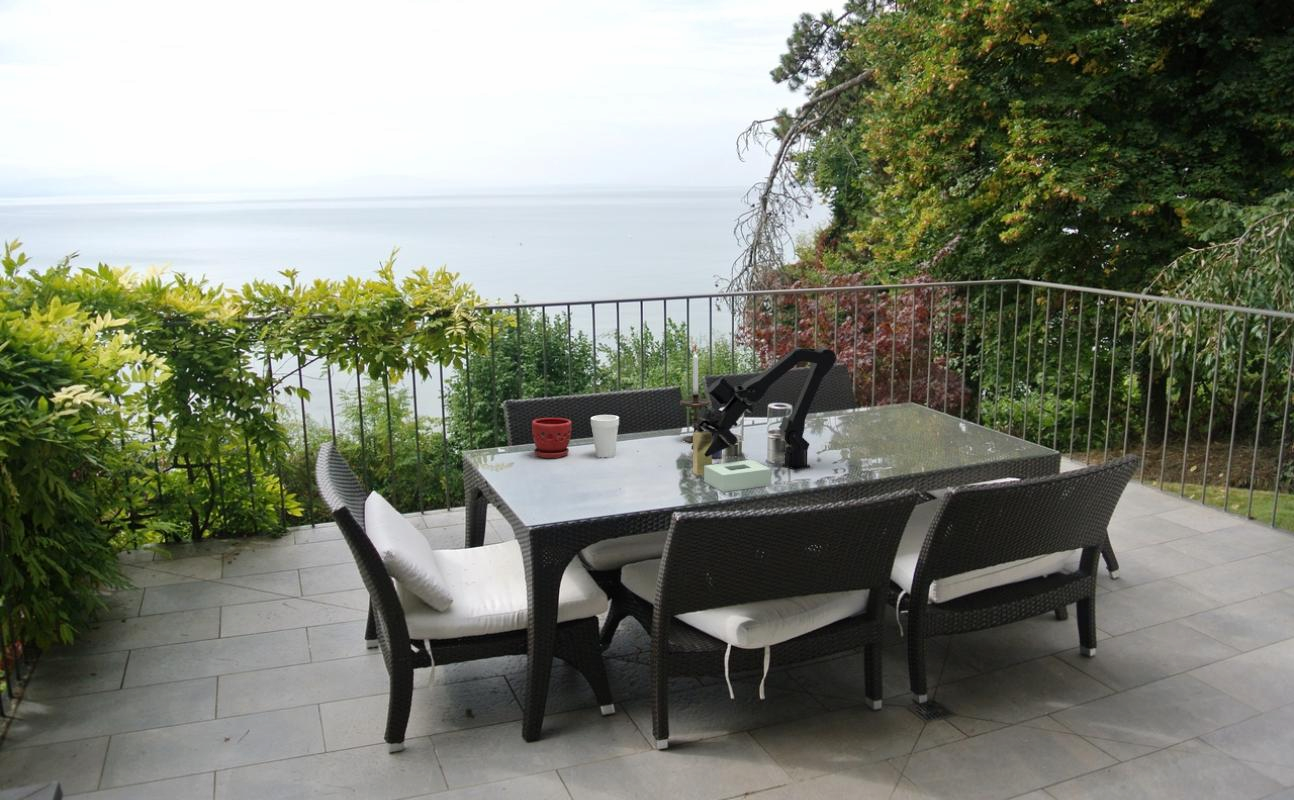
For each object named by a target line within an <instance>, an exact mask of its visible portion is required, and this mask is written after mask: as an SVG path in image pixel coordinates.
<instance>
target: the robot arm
mask: <svg viewBox="0 0 1294 800" xmlns="http://www.w3.org/2000/svg"><path fill="white" fill-rule="evenodd" d="M800 362H806V363H810V364H809V373H808V376H807V378H806V380H805V383H804V385H803V387H802V390H801V392H800V394H799V396H798V398H797V401H796V403H795V406H794V408H793V411H792V412H791V414H790V415H789V416H788V417H786V416H785V415H784V416H783V417H782V421H781V423H780V425H779V426H778V429H779V432H778V433H779V437H780V438H781V439H782V440H783V441H784V442H785V445H786V446H787V447H786V446H785V452H784V463H783V462H782V466H784V467H785V468H786V467H787V468H789V469H792V470H800V469H805V468H810V467H811V464H808V449H809V448H810V443H809V441H807V440H806V439H805V438H804V433H805V426H806V418H807V416H808V414H809V411H810V409H811V406H812V404H813V402H814V399H815V397H816V396H817V392H818V391H819V388H820V386H821V383H822V382H823V379H824V378H825V376H827V375H828V374H829V372H830V371H831V370H832V368H833V367H834V365H835V364H836V362H837V355H836V352H834V350H832V349H830V348H828V347H824V346H819V347H817V348H805V347H804V348H803V347H797V346H796V347H793V348H792V349H791V350H790V351H789V352H787V354H785V355H784V356H783V357H781V358H780V359H779V360H777V362H775V363H774V364H773V365H772V366H770V367H769V368H768V369H767V370H765V371H764V372H763V373H761V374H759V375H757V376H754V377H752V378H750V379H748V380H747V381H745V382H743V383H742V385H736V386H732V385H730V383H729V382H728V381H727V380H726V379H725V378H724V376H721V377H720V378H719V379H717V380H716V381H715V382H712V384H711V385H710V386H709V387H708V388H707V391H706V393H707V394H708V395H709V396H710V397H711V398H712V399H714V401H716V403H718V404H719V405H725V406H724V407H723V408H722V409H716V408H712V409H711V410H710V409H708V408H706V407H705V406H703V407H700V410H699V413H698V420H697V421H696V422H695V424H696V428H697V432H703V431H709V432H711V433H712V436H713V435H714V440H713V442H712V443H711V445H710V446H709V448H708V449H707V451H706V452H705V454H704V455H705V456H706V457H708V456H710V455H712V454H714V453H716V452H718V451H721V450H722V451H723V450H726V449H728V448H731V447H733V448H734V447H735V445H737V443H738V437H737V436H736V435H735V434H734V433H733V432H732V431H731V429H732V428H733V426H734V427H737V426H738V425H739V424H738V421H739V419H741V417H742V416H743V415H744V414H745V413H746V412H747V413H751V414H753V413H754V408H753V406H754V404H753V403H756V402H758V401H760V400H761V399H762V398H763V396H764V395H765V394H766V393H767V392H768V391H769V388H771V386H772V385H773V384H774V383H776V382H777V381H778V380H779V379H780V378H781V377H783V376H784V375H785V374H786V373H788V372H789V371H790V370H792V369H793V368H794V367H795V366H796V365H798V364H799V363H800ZM735 394H736V395H735ZM739 397H740V398H739ZM746 400H747V401H748V402H751V403H748V402H747V401H746ZM690 449H691V450H692V451H693V444H692V445H691V448H690Z"/></svg>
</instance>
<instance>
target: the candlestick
mask: <svg viewBox="0 0 1294 800" xmlns="http://www.w3.org/2000/svg"><path fill="white" fill-rule="evenodd" d="M693 350H694V351H693V352H694V353H693V355H692V392H690V394H689V395H691V396H692V397H691V398H689V397H688V398H683V399H681V400H680V402H679V403H680V406H683V407H689V408H692V409H693V418H692V419H691V422H692V424H693V426H691V427H692V428H693V432H695V431H697V428H696V424H695V422H696V421H697V420H698V419H699V416H698V415H699V413H698V410H699V409H700V408H702V407H708V406H711V404H712V401H711V399H708V398H701V397H699V396H700V395H702V393H701V392H699V356H698V355H697V344H696V343H694V348H693ZM682 441H685V442H688V443H687V444H691V443H693V434H692V435H687V436H684V437H683V438H682ZM685 442H684V443H685Z"/></svg>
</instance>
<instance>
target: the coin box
mask: <svg viewBox="0 0 1294 800" xmlns="http://www.w3.org/2000/svg"><path fill="white" fill-rule="evenodd" d="M703 478H704V479H703V482H704V483H705V484H708V485H709V486H712V487H713V488H715V489H717V490H718V491H720V492H722V493H725V492H731V491H739V490H747V489H755V488H762V487H769V486H772V483H771V482H772V468H770V467H768V466H765V465H763V464H761V463H759V462H758V461H757V462H756V461H754V460H752V459H746V460H739V461H731V462H722V463H716V464H712V465H706V466H704V475H703Z"/></svg>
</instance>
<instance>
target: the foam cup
mask: <svg viewBox="0 0 1294 800" xmlns="http://www.w3.org/2000/svg"><path fill="white" fill-rule="evenodd" d="M619 425H620V416H618V415H615V414H614V415H613V414H599V415H594V416H591V417H590V426H591V430H592V431H591V432H592V437H593V444H594V450H595V456H596V457H597V456H598V457H597V458H599V457H611V458H614V457H615V456H616V450H617V440H618V431H619ZM613 456H614V457H613Z"/></svg>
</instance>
